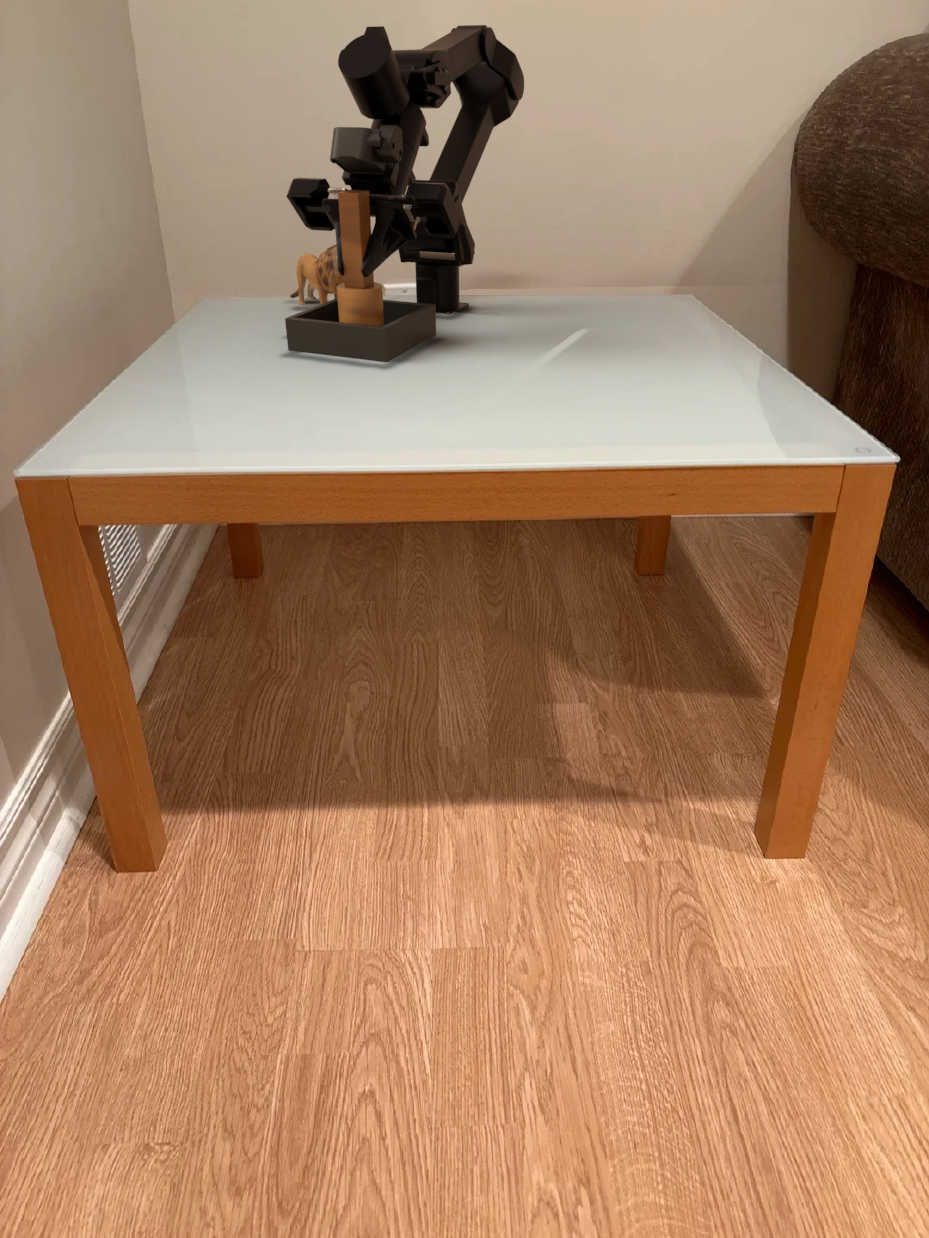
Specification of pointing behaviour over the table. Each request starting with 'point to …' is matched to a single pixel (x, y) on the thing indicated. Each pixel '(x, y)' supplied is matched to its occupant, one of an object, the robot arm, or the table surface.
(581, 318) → the table surface
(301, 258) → the lion figurine
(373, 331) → the box
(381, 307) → the wooden peg stand
